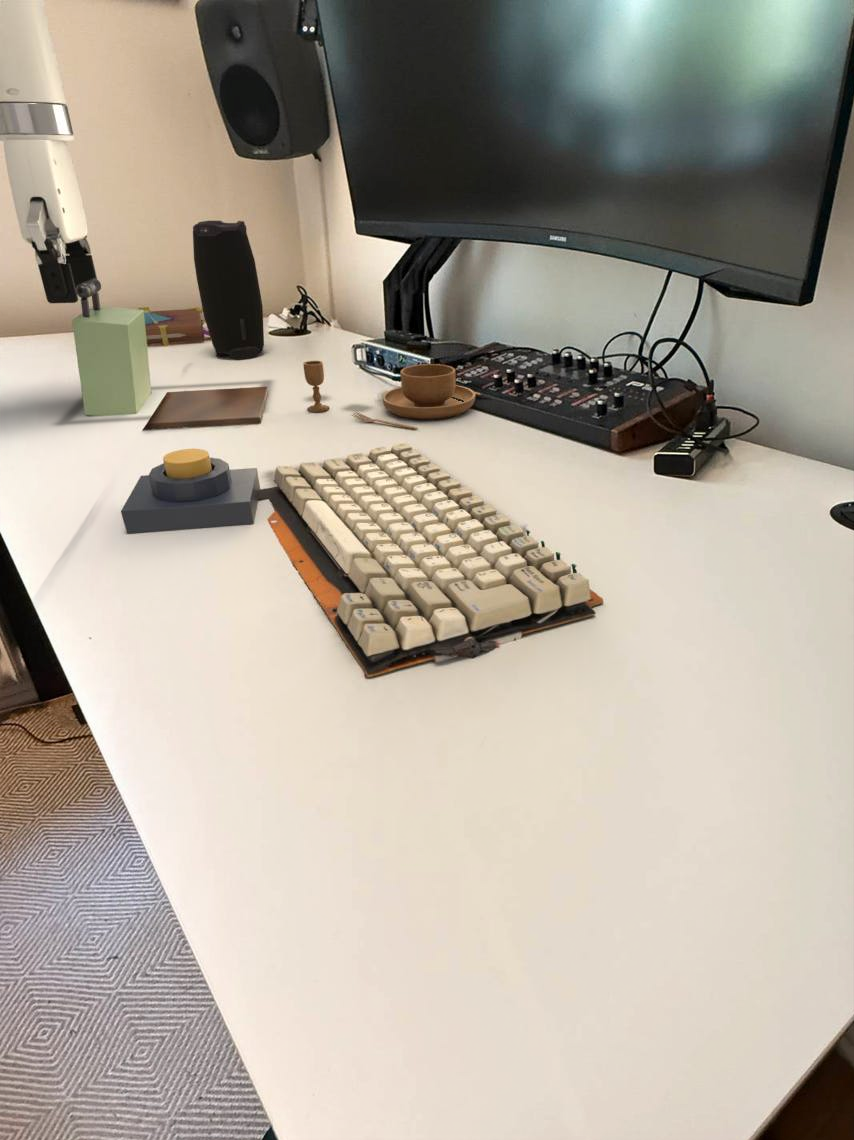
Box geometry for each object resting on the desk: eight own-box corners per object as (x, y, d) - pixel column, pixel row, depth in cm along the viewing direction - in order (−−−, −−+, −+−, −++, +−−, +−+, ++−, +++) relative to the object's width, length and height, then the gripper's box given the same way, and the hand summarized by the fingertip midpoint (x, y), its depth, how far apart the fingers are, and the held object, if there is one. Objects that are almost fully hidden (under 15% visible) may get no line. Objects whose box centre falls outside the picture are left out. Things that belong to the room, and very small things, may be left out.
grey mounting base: (126, 534, 71) (115, 491, 69) (146, 496, 78) (136, 457, 76) (253, 524, 72) (246, 482, 70) (260, 488, 80) (253, 449, 78)
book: (231, 346, 142) (226, 316, 139) (82, 357, 136) (73, 326, 133) (227, 324, 155) (223, 296, 152) (91, 333, 149) (83, 305, 146)
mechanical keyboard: (242, 496, 79) (236, 463, 78) (418, 465, 87) (417, 435, 85) (373, 693, 51) (369, 648, 49) (621, 623, 58) (625, 581, 56)
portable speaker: (215, 350, 135) (191, 220, 125) (271, 348, 136) (252, 218, 126) (207, 361, 128) (182, 224, 118) (267, 359, 129) (246, 222, 119)
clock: (82, 415, 97) (64, 285, 90) (101, 393, 106) (86, 274, 98) (137, 418, 99) (123, 291, 91) (152, 397, 107) (140, 279, 100)
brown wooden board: (65, 435, 96) (63, 428, 96) (95, 401, 109) (93, 395, 108) (260, 423, 99) (259, 416, 99) (268, 392, 112) (267, 386, 111)
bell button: (163, 483, 72) (159, 464, 71) (170, 468, 75) (166, 449, 74) (209, 480, 72) (205, 461, 71) (214, 465, 75) (211, 447, 74)
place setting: (430, 433, 94) (428, 382, 91) (300, 412, 103) (293, 364, 100) (501, 398, 107) (501, 352, 104) (380, 381, 116) (376, 338, 113)
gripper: (22, 128, 93) (62, 287, 102) (-35, 121, 78) (17, 308, 87) (90, 128, 94) (123, 286, 103) (46, 122, 79) (90, 307, 88)
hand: (75, 296), depth 95 cm, fingers open, 9 cm apart
